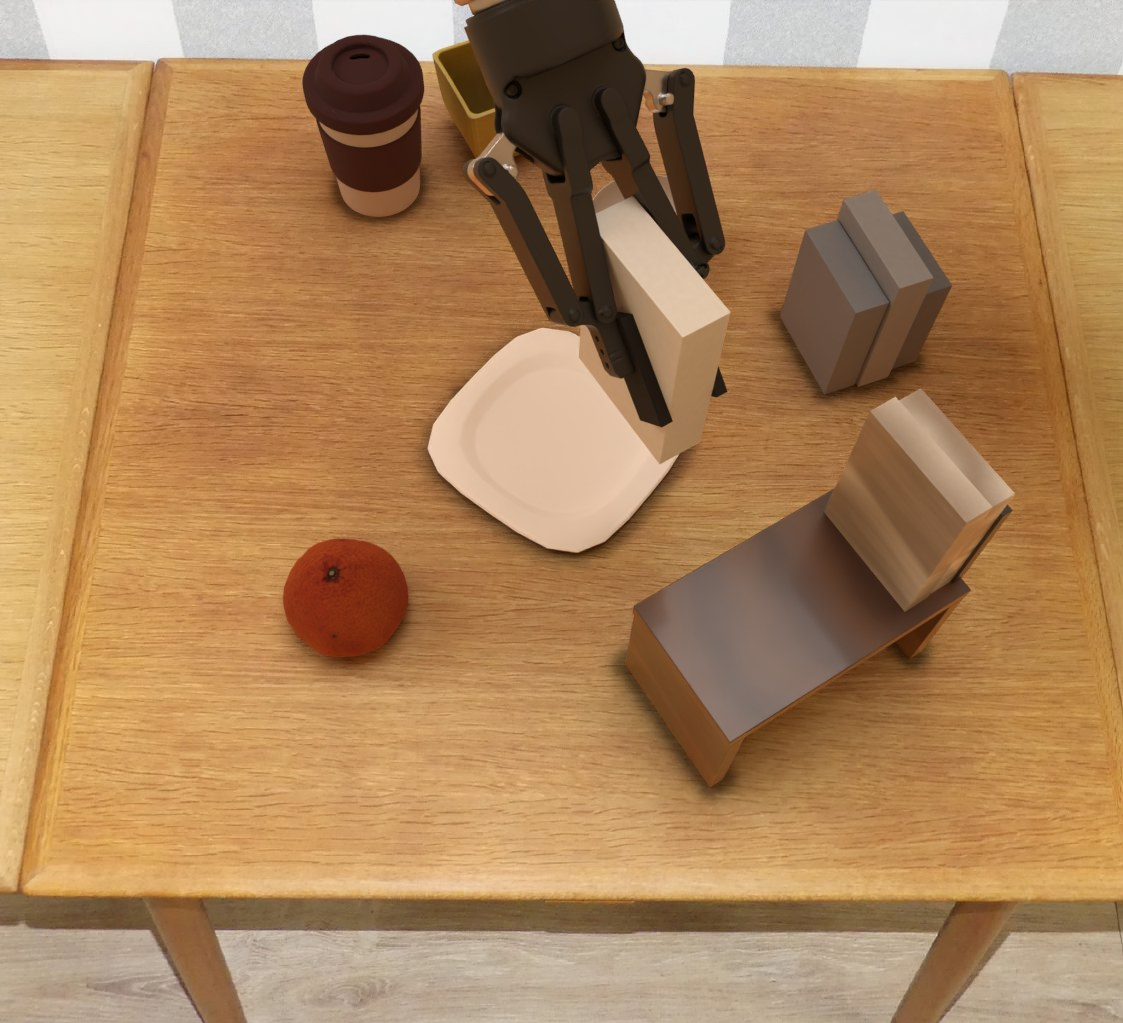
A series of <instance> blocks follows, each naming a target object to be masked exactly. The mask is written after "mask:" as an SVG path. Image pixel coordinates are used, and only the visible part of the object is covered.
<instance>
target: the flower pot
mask: <svg viewBox="0 0 1123 1023" xmlns="http://www.w3.org/2000/svg"><path fill="white" fill-rule="evenodd" d="M431 55H432V56H431V57H432V61H433V64H434V69H435V73H436V74H435V75H436V79H437V82H438V86H439V91H440V95H441V98H442V101H443V103H444V105H445V108H446V110H447V113H448V114H449V115H450V117H451V119H452V121H453V122H454V124H455V126H456V127H457V129H458V130H459V132H460V134H461V136H462V137H463V139H464V141H465V142H466V144H467V146H468V148H469V149H470V151H471V153H472V155H473V157H474V159H476V158H478V157H479V155H480V154H481V153H482V152H483V150H484V149H485V148H486V147H487V146H488V144H489V143H490V142H491V141H492V139H493V138H494V137H495V136H496V131H495V127H494V119H495V106H494V101H493V98H492V96H491V94H490V92H489V90H488V87H487V85H486V83H485V80H484V78H483V75H482V72H481V70H480V67H479V65H478V62H477V60H476V57H475V55H474V52H473V50H472V47H471V44H470V42H469V39H467V40H465V41H461V42H459V43H455V44H451V45H449V46H446V47H441V48H440V49H438V50H436V51H434V52H433V53H432V54H431ZM517 156H521V155H520V154H519V153H517V152H516V151H514V158H515V157H517Z"/></svg>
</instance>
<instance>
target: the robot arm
mask: <svg viewBox="0 0 1123 1023" xmlns="http://www.w3.org/2000/svg"><path fill="white" fill-rule="evenodd" d="M453 2H454V4H456V5H458V6H461V7H464V6H467V5H468V8H469V10H470V12H471V15H472V16H470V17H468V18H466V19H465V23H466V26H464V27H463V29H464V32H465V34H466V36H467V40H469V42H470V44H471V47H472V50H473V52H474V55H475V57H476V60H477V62H478V65H479V67H480V70H481V72H482V75H483V78H484V80H485V83H486V85H487V87H488V90H489V92H490V94H491V96H492V98H493V101H494V106H495V119H494V127H495V131H496V136H495V137H494V138H493V139H492V141H491V142H490V143H489V144H488V146H487V147H486V148H485V149H484V150H483V152H482V153H481V154H480V155H479V157H478V158H473V159H468V160H467V161H466V162H465V163H464V165H463V166H462V175H463V178H464V179H465V181H466V182H467V183H469V185H470V186H472V188H474V189H475V191H477V192H478V193H479V194H480V196H482V197H483V198H484V199H485V200H486V201H487V202H488V203H489V204H490V207H491V209H492V211H493V213H494V214H495V215H494V216H496V219H497V220H498V223H499V225H500V227H501V228H502V231H503V233H504V234H505V236H506V238H507V240H508V243H509V244H510V246H511V248H512V251H513V252H514V254H515V257H516V259H517V260H518V262H519V265H520V266H521V268H522V270H523V272H524V274H525V277H526V279H527V280H528V283H529V284H530V286H531V288H532V291H533V293H534V294H535V296H536V298H537V301H538V302H539V304H540V307H541V308H542V310H543V312H544V314H545V316H546V318H547V319H548V321H549V322H550V323H552V324H555V325H561V326H566V327H570V328H571V327H572V328H576V327H580V326H581V325H585V326H586V327H587V328H588V330H589V332H590V334H591V337H592V339H593V342H594V344H595V347H596V350H597V352H598V355H599V357H600V359H601V362H602V365H603V368H604V370H605V371H606V372H607V373H608V374H609V375H610V376H612V377H616V378H620V379H622V378H624V380H625V383H626V385H627V388H628V390H629V393H630V396H631V398H632V401H633V403H634V406H635V409H636V411H637V414H638V416H639V419H640V421H643V422H646V423H649V424H652V425H656V426H659V427H664V426H666V425H667V424H669V423H671V422H673V420H672V417H671V415H670V412H669V410H668V407H667V405H666V402H665V399H664V397H663V394H662V391H661V389H660V386H659V383H658V380H657V378H656V375H655V372H654V370H653V367H652V364H651V362H650V359H649V356H648V354H647V351H646V348H645V346H644V343H643V340H642V338H641V335H640V332H639V330H638V327H637V324H636V322H635V319H634V316H633V314H630V313H623V312H617V308H616V303H615V299H614V294H613V290H612V285H611V281H610V276H609V272H608V267H607V263H606V258H605V254H604V249H603V245H602V240H601V236H600V231H599V227H598V222H597V218H596V213H595V209H594V204H593V200H592V199H593V195H592V193H593V190H594V182H593V178H592V173H591V171H592V170H593V169H594V168H595V167H596V166H597V165H599V163H600V164H601V165H602V167H603V169H604V170H605V172H607V173H608V174H609V175H610V176H611V177H612V178H613V181H614V180H615V182H616V184H617V186H618V188H619V190H620V191H621V193H622V195H623V197H624V199H627V198H629V197H631V196H633V197H634V198H635V199H636V200H637V201H638V202H639V204H640V205H641V206H642V207H643V208H644V209H645V211H646V212H647V213H648V214H649V215H650V217H651V218H652V219H653V220H654V221H655V223H656V224H657V225H658V226H659V227H660V229H661V230H662V231H663V232H664V233H665V235H666V236H667V237H668V238H669V239H670V241H671V242H672V243H673V244H674V245H675V246H676V248H677V249H678V250H679V251H680V252H681V254H682V255H683V256H684V257H685V258H686V260H687V261H688V262H689V263H690V264H691V266H692V267H693V268H694V269H695V270H696V272H697V273H698V274H699V275H700V276H701V277H702V279H703V280H705V279H706V278H707V277H708V275H709V273H710V265H709V262H710V261H711V260H712V258H713V257H714V256H718V255H720V254H722V253H723V251H724V250H725V248H726V239H725V235H724V231H723V227H722V223H721V219H720V215H719V210H718V207H717V203H716V198H715V194H714V191H713V187H712V183H711V179H710V174H709V171H708V166H707V163H706V158H705V155H704V150H703V146H702V143H701V140H700V134H699V130H698V127H697V122H696V118H695V115H694V114H695V113H694V109H695V91H696V77H695V74H694V72H693V71H692V70H691V69H690V68H689V67H681V68H678V69H672V70H668V71H666V70H657V69H656V70H655V69H647V68H645V65H644V63H643V62H642V61H641V59H640V58H639V57H637V55H636V54H634V52H633V51H632V50H631V48H630V47H629V45H628V43H627V40H626V34H625V28H624V23H623V21H622V18H621V15H620V12H619V8H618V6H617V2H616V0H453ZM643 98H644V99H645V100H644V105H645V107H646V108H647V110H648V111H649V112H650V113H652V120H653V127H654V132H655V136H656V140H657V144H658V147H659V152H660V156H661V159H662V163H663V167H664V170H665V176H667V179H668V182H669V186H670V190H671V194H672V198H673V201H674V205H675V209H676V213H675V211H674V209H673V207H672V205H671V203H670V201H669V199H668V197H667V195H666V193H665V191H664V189H663V187H662V185H661V184H660V182H659V180H658V178H657V176H656V172H655V170H654V168H653V166H652V164H651V154H650V152H649V149H648V147H647V146H646V143H645V142H644V140H643V138H642V136H641V134H640V132H639V129H638V128H637V126H638V121H639V116H640V111H641V107H642V102H643ZM514 151H516V152H517V153H519V154H520V155H519V156H522V157H523V158H524V159H526V160H527V161H529V162H530V163H532V164H533V165H534V166H536V167H537V168H538V169H540V170H541V172H542V176H543V181H544V185H545V188H546V192H547V195H548V196H549V198H550V199H551V201H552V204H553V208H554V212H555V216H556V221H557V225H558V229H559V234H560V238H561V242H562V247H563V251H564V255H565V259H566V265H567V268H568V272H569V277H570V280H569V277H568V275H567V273H566V271H565V269H564V267H563V265H562V263H561V261H560V259H559V257H558V255H557V253H556V250H555V249H554V247H553V244H552V243H551V240H550V239H549V237H548V234H547V232H546V231H545V227H543V224H542V222H541V220H540V218H539V217H538V216H539V215H538V214H537V212H536V210H535V208H534V206H533V204H532V202H531V200H530V198H529V196H528V194H527V193H526V191H525V189H524V188H523V186H522V185H521V183H519V181H518V178H519V176H520V169H519V166H518V164H517V162H516V161H515V157H514ZM727 393H728V388H727V386H726V383H725V380H724V377H723V374H722V372H721V369H720V366H719V365H718V369H717V374H716V378H715V382H714V386H713V391H712V395H711V398H716V399H717V398H719V397H721V396H722V395H725V394H727Z"/></svg>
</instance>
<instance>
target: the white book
mask: <svg viewBox="0 0 1123 1023" xmlns="http://www.w3.org/2000/svg"><path fill="white" fill-rule="evenodd" d="M596 218H597V222H598V227H599V231H600V236H601V240H602V245H603V249H604V254H605V258H606V263H607V267H608V272H609V276H610V281H611V285H612V290H613V294H614V299H615V303H616V308H617V312H623V313H630V314H633V316H634V319H635V322H636V324H637V327H638V330H639V332H640V335H641V338H642V340H643V343H644V346H645V348H646V351H647V354H648V356H649V359H650V362H651V364H652V367H653V370H654V372H655V375H656V378H657V380H658V383H659V386H660V389H661V391H662V394H663V397H664V399H665V402H666V405H667V407H668V410H669V412H670V415H671V417H672V420H673V422H671V423H669V424H667V425H666V426H664V427H659V426H656V425H652V424H649V423H646V422H643V421H640V419H639V416H638V414H637V411H636V409H635V406H634V403H633V401H632V398H631V396H630V393H629V390H628V388H627V385H626V383H625V380H624V378H622V379H620V378H616V377H612V376H610V375H609V374H608V373H607V372H606V371H605V370H604V368H603V365H602V362H601V359H600V357H599V355H598V352H597V350H596V347H595V344H594V342H593V339H592V337H591V334H590V332H589V330H588V328H587V327H586V326H585V325H579V327H580V330H579V336H580V345H579V358H580V360H581V361H582V362H583V364H584V365H585V366H586V368H587V369H588V370H589V372H590V373H591V374H592V376H593V377H594V378H595V380H596V381H597V382H598V384H599V385H600V386H601V388H602V389H603V390H604V392H605V393H606V394H607V396H608V397H609V398H610V399H611V401H612V402H613V403H614V405H615V406H616V407H617V409H618V410H619V411H620V413H621V414H622V415H623V417H624V418H625V419H626V421H627V422H628V423H629V425H630V426H631V427H632V429H633V430H634V431H635V433H636V434H637V435H638V437H639V438H640V439H641V441H642V442H643V443H644V444H645V446H646V447H647V448H648V450H649V451H650V452H651V454H652V455H653V456H654V458H655V459H656V460H657V462H658V463H659V464H662V463H663V462H665V461H667V460H669V459H671V458H672V457H674V456H676V455H678V454H679V455H680V454H682V453H683V452H686V451H687V450H689V449H691V448H692V447H694V446H696V445H698V444H699V443H701V442H702V437H703V434H704V428H705V424H706V420H707V415H708V412H709V407H710V403H711V398H712V396H711V395H712V391H713V386H714V382H715V378H716V374H717V369H718V366H719V365H720V362H721V356H722V352H723V348H724V344H725V340H726V335H727V332H728V331H727V330H728V328H729V327H728V326H729V323H730V322H729V321H730V318H731V314H732V313H731V311H730V309H729V308H728V307H727V306H726V304H725V303H724V302H723V301H722V300H721V299H720V298H719V297H718V295H717V294H716V292H714V290H713V289H712V288H711V287H710V286H709V284H708V283H707V282H706V281H705V279H702V277H701V276H700V275H699V274H698V273H697V272H696V270H695V269H694V268H693V267H692V266H691V264H690V263H689V262H688V261H687V260H686V258H685V257H684V256H683V255H682V254H681V252H680V251H679V250H678V249H677V248H676V246H675V245H674V244H673V243H672V242H671V241H670V239H669V238H668V237H667V236H666V235H665V233H664V232H663V231H662V230H661V229H660V227H659V226H658V225H657V224H656V223H655V221H654V220H653V219H652V218H651V217H650V215H649V214H648V213H647V212H646V211H645V209H644V208H643V207H642V206H641V205H640V204H639V202H638V201H637V200H636V199H635V198H634V197H633V196H631V197H629V198H627V199H625V200H623V201H621V202H619V203H617V204H615V205H613V206H611V207H608V208H606V209H604V210H602V211H600V212H598V213H596Z"/></svg>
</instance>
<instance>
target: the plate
mask: <svg viewBox="0 0 1123 1023" xmlns="http://www.w3.org/2000/svg"><path fill="white" fill-rule="evenodd" d="M579 345H580V335H578V334H576V333H574V332H571V331H569V330H563V329H556V328H555V329H554V328H547V327H539V328H537V329H534V330H531V331H529V332H528V331H527V332H526V333H523V334H520V335H518V336H515V338H513V339H512V340H510V341H509V342H508V343H507V344H506V345H504V346H503V347H501V349H499V350H498V351H497V352H496V353H495V354H493V355H492V356H491V358H489V359H488V360H487V361H486V363H484V365H483V366H481V368H480V369H478V371H477V372H475V374H474V375H473V376H472V377H471V378H470V379H469V380H468V381H467V382H466V383H465V384H464V385H463V387H462V388H461V389H460V390H459V391H457V393H456V394H455V395H454V396H453V397H452V398H451V399H450V400H449V403H447V405H446V406H445V407H444V409H443V410H442V412H440V415H439V416H437V419H436V420H435V421H434V422H433V424H432V428H431V432H430V436H429V440H428V445H427V449H426V450H427V452H428V454H429V456H430V458H431V460H432V463H433V465H434V467H435V468H436V471H437V473H438V474H439V475H440V476H441V477H442V478H443V479H444V480H445V481H446V482H447V483H448V484H450V486H452V488H454V489H455V490H456V491H457V492H458V493H459V494H461V495H462V496H463V497H465V498H466V499H468V500H469V501H470V502H472V503H473V504H474V505H475V506H477V507H478V508H480V509H481V510H483V511H484V512H485V513H487V514H488V515H490V516H491V517H493V519H496V520H497V521H498V522H500V523H501V524H503V525H504V526H506V527H508V528H509V529H510V530H511V531H514V533H516V534H518V535H520V536H522V537H523V538H525V539H527V540H529V541H531V542H533V543H535V544H537V545H539V546H540V547H543V549H546V550H550V551H558V552H564V553H571V554H579V553H580V554H581V553H582V552H585V551H587V550H589V549H592V548H594V547H596V546H599V545H602V544H604V543H606V541H608V540H609V539H610V538H611V537H612V536H613V535H614V534H616V533H617V531H619V530H620V529H621V528H622V527H623V526H624V525H626V523H627V522H629V520H630V519H631V518H632V517H633V515H634V514H636V512H637V511H638V510H639V508H640V507H641V506H642V505H643V504H644V503H645V501H647V499H648V498H649V497H650V496H651V494H653V492H654V491H655V489H656V488H657V487H658V486H659V484H660V483H661V482H662V481H663V479H664V478H665V477H666V476H667V474H668V473H669V472H670V470H671V469H672V467H673V465H674V464H675V462H676V460H677V459H678V458H679V456H680V454H678V455H676V456H674V457H672V458H671V459H669V460H667V461H665V462H663V463H662V464H659V463H658V462H657V460H656V459H655V458H654V456H653V455H652V454H651V452H650V451H649V450H648V448H647V447H646V446H645V444H644V443H643V442H642V441H641V439H640V438H639V437H638V435H637V434H636V433H635V431H634V430H633V429H632V427H631V426H630V425H629V423H628V422H627V421H626V419H625V418H624V417H623V415H622V414H621V413H620V411H619V410H618V409H617V407H616V406H615V405H614V403H613V402H612V401H611V399H610V398H609V397H608V396H607V394H606V393H605V392H604V390H603V389H602V388H601V386H600V385H599V384H598V382H597V381H596V380H595V378H594V377H593V376H592V374H591V373H590V372H589V370H588V369H587V368H586V366H585V365H584V364H583V362H582V361H581V360H580V358H579Z"/></svg>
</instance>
